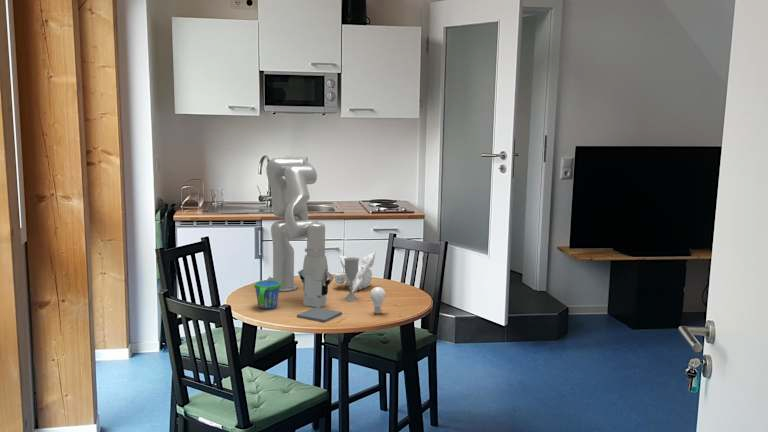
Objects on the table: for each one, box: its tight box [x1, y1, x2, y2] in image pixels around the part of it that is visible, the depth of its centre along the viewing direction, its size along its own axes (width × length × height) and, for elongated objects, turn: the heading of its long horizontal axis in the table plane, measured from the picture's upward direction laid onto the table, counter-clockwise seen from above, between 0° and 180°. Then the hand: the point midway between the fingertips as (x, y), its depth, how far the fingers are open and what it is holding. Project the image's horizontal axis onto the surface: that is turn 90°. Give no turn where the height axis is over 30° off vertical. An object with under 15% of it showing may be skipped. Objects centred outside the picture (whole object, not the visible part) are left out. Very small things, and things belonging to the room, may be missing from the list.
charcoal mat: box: [296, 307, 343, 323], centre depth 264 cm, size 13×13×1 cm
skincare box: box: [302, 271, 328, 308], centre depth 278 cm, size 8×6×15 cm
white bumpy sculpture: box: [334, 251, 376, 294], centre depth 310 cm, size 19×20×20 cm
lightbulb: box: [369, 286, 387, 315], centre depth 268 cm, size 6×6×11 cm
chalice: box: [344, 256, 360, 302], centre depth 288 cm, size 7×7×18 cm
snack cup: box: [253, 279, 281, 310], centre depth 274 cm, size 16×10×10 cm
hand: (315, 293), depth 278 cm, fingers closed on skincare box, 8 cm apart
